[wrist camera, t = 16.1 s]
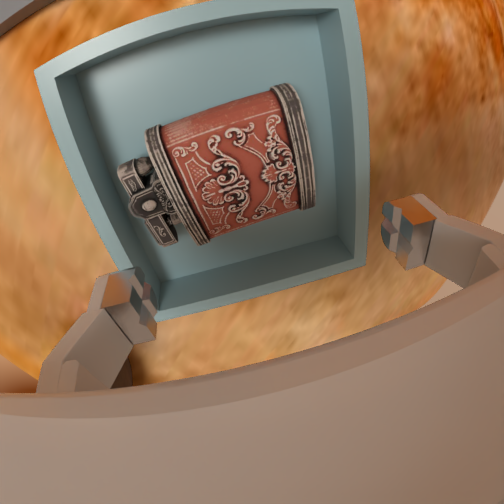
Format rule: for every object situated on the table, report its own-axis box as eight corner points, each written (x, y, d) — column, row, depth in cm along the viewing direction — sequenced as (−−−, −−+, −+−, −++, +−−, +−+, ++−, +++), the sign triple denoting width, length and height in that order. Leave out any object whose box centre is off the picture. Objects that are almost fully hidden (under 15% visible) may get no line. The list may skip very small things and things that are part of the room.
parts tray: (321, 2, 13) (352, -8, 9) (343, 235, 24) (365, 265, 21) (63, 66, 12) (33, 70, 9) (154, 285, 23) (151, 323, 20)
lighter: (279, 76, 14) (106, 139, 14) (302, 92, 12) (94, 169, 12) (300, 187, 20) (163, 234, 20) (319, 218, 18) (164, 271, 18)
